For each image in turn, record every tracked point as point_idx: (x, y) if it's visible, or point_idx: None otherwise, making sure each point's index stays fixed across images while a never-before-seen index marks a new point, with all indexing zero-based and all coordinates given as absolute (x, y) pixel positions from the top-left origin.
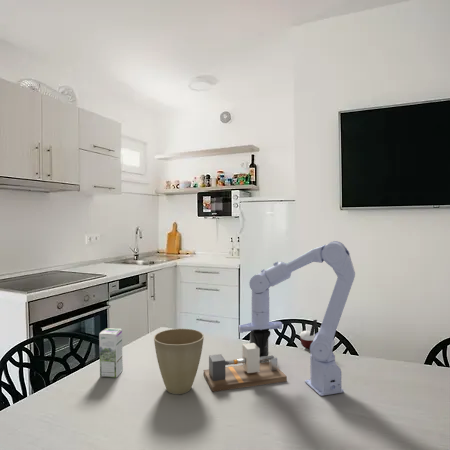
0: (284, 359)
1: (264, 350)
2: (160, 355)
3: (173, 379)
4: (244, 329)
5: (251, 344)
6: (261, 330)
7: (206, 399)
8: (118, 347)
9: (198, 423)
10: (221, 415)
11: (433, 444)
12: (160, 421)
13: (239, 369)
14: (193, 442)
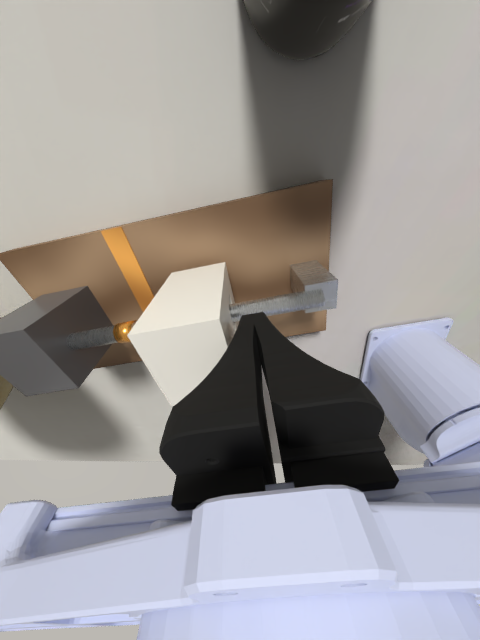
0: (445, 74)
1: (352, 14)
2: None
3: None
4: (76, 547)
5: (197, 346)
6: (291, 476)
7: (95, 383)
8: None
9: (108, 435)
10: (143, 422)
11: (411, 464)
12: (37, 430)
13: (161, 263)
14: (116, 458)
